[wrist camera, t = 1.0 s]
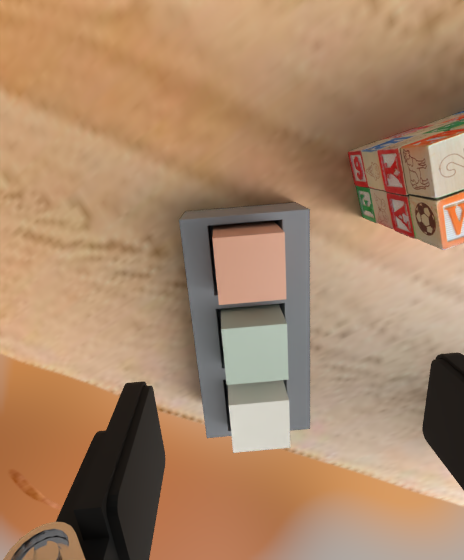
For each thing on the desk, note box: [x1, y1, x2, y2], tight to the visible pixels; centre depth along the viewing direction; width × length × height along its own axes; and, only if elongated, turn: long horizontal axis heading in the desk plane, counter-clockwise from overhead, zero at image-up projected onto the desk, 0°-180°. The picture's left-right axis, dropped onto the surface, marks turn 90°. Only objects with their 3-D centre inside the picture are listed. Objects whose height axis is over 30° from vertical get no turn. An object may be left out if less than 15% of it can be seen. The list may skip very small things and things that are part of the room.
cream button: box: [228, 380, 290, 453], centre depth 31 cm, size 5×5×5 cm
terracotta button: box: [212, 221, 286, 305], centre depth 26 cm, size 5×5×5 cm
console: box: [179, 202, 310, 438], centre depth 32 cm, size 10×21×5 cm, turn 4°
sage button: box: [221, 304, 289, 385], centre depth 29 cm, size 5×5×5 cm
